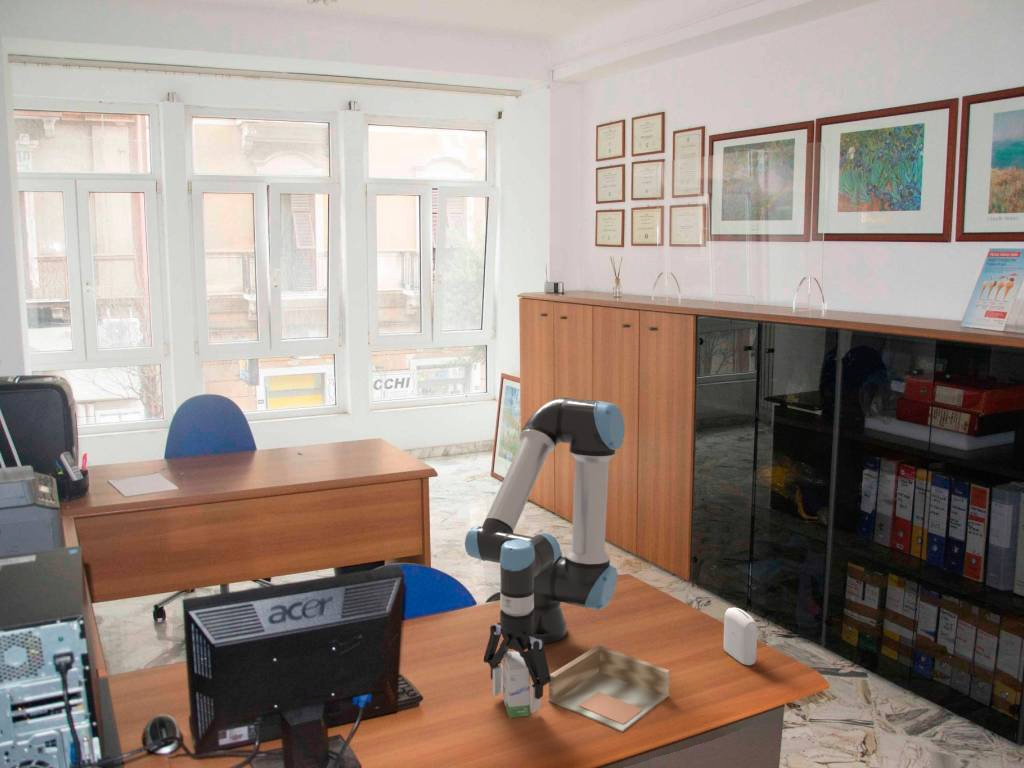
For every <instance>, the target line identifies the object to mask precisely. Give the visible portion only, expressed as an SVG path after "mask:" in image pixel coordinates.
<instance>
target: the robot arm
mask: <svg viewBox="0 0 1024 768" xmlns="http://www.w3.org/2000/svg"><path fill="white" fill-rule="evenodd" d="M620 409H621V408H620V407H618V405H616V404H615V403H612V402H606V401H603V400H595V399H594V400H593V399H592V400H591V399H579V398H570V397H558V398H555V399H551V400H549V401H546V403H544V404H543V405H541V406H540V407H539V408H538V409H536V410H535V412H533V414H532V415H531V416H530V417H529V418H528V419H527V421H526V423H525V424H524V425H523V428H522V430H521V431H520V434H519V438H520V441H521V442H520V443H519V446H518V448H517V450H516V452H515V454H514V457H513V459H512V461H511V463H510V465H509V468H508V469H507V472H506V474H505V477H504V479H503V480H502V483H501V485H500V487H499V489H498V491H497V494H496V496H495V498H494V500H493V502H492V504H491V507H490V509H489V511H488V513H487V515H486V518H485V520H484V521H483V523H482V526H480V525H479V526H478V525H477V526H476V525H474V526H472V527H471V528H470V529H469V530H468V531H467V533H466V535H465V538H464V549H465V552H466V553H467V555H468V556H469V557H471V558H475V559H478V560H481V561H483V562H484V561H485V562H486V561H487V562H492V563H495V564H496V563H498V564H500V566H499V568H500V569H499V570H500V571H499V572H500V573H499V575H500V577H499V578H500V589H499V590H500V593H499V595H500V598H499V599H500V602H499V604H500V605H499V606H500V607H499V608H500V612H499V622H496V623H494V624H493V625H491V626H490V627H489V629H490V635H489V638H488V642H487V646H486V649H485V652H484V656H483V662H484V663H487V664H488V666H489V668H490V679H491V680H492V696H493V697H497V696H498V695H500V694H503V664H502V660H503V657H504V653H506V652H509V650H514V652H515V651H517V652H519V654H520V656H521V657H523V659H524V662H525V664H526V666H527V668H528V671H529V674H530V679H531V681H532V683H530V713H532V714H533V713H536V712H537V711H539V710H541V703H542V702H541V700H542V699H541V698H542V697H543V696H544V686H546V685H547V684H549V682H551V677H550V674H551V673H550V670H549V666H548V665H549V664H548V660H547V657H546V656H547V655H546V652H545V645H546V644H552V643H555V642H558V641H560V640H563V639H564V638H565V637H566V635H567V629H568V628H567V626H568V625H567V621H566V619H565V616H564V612H563V608H562V605H561V603H563V604H569V605H573V606H577V607H582V608H585V609H587V610H588V609H591V610H597V611H599V610H603V609H604V608H606V607H607V606H608V605H609V603H610V602H611V600H612V599H613V596H614V593H615V590H616V587H617V582H618V572H617V571H618V570H617V568H616V567H615V566H614V565H610V563H611V556H610V554H608V552H607V551H606V550H605V548H606V547H605V546H606V527H607V526H606V524H607V505H608V504H607V502H608V484H609V483H608V481H609V466H610V465H609V463H610V460H611V459H612V458H614V457H615V455H616V450H619V449H620V448H621V447H622V445H623V444H624V438H625V431H626V430H625V428H626V427H625V420H624V416H623V414H622V411H621V410H620ZM559 443H564V444H569V453H570V454H571V456H573V458H574V459H575V460H574V461H575V463H574V483H573V486H574V487H573V502H572V503H573V504H572V505H573V507H572V509H573V510H572V525H571V526H572V532H571V548H570V549H569V550H568V551H567V552H566V553H565V555H564V556H562V555H563V552H562V549H561V548H560V547H561V546H560V543H559V542H558V540H557V538H555V536H553V535H552V534H550V533H540V534H536V535H535V536H529V535H525V534H524V535H523V534H520V533H514V532H515V530H516V528H517V524H518V522H519V520H520V519H521V515H522V513H523V511H524V508H525V506H526V505H527V502H528V500H529V497H530V495H531V493H532V491H533V488H534V486H535V483H536V481H537V480H538V477H539V475H540V472H541V470H542V469H543V466H544V463H545V461H546V459H547V457H548V454H549V453H552V452H553V451H555V448H556V446H557V444H559ZM501 636H502V638H503V640H502V641H501V643H500V640H501ZM499 643H500V645H499ZM498 646H499V648H498Z"/></svg>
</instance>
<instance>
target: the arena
mask: <svg viewBox="0 0 1024 768" xmlns="http://www.w3.org/2000/svg"><path fill="white" fill-rule="evenodd" d="M550 677H551V682H549V683H548V702H551V703H552V704H555V705H558V706H559V707H562V708H565V709H566V710H568V711H569V710H570V711H572V712H574V713H577V714H579V715H580V716H583V717H586V718H588V719H590V720H593V721H595V722H598V723H599V724H602V725H605V726H607V727H609V728H612V729H614V730H617V731H620V732H622V733H623V732H624V731H626V730H627V729H628V728H629V727H631V726H632V725H633V724H635V723H636V722H637V721H639V720H640V719H641V718H642V717H643V716H645V715H647V713H649V712H651V710H652V709H654V708H655V707H656V706H658V705H659V704H660V703H661V702H663V701H665V699H666V698H668V697H669V694H670V669H667V668H664V667H661V666H659V665H655V664H653V663H650V662H648V661H644V660H643V659H639V658H637V657H633V656H630V655H629V654H628V655H627V654H625V653H621V652H620V651H617V650H614V649H611V648H608V647H605V646H602V645H600V644H597V645H596V646H593V647H592V648H591V649H589V650H587V651H586V652H584V653H582V654H581V655H579V656H577V657H576V658H575V659H572V660H571V661H570V662H568V663H566V664H565V665H563V666H562V667H559V668H558V669H556V670H555V671H553V672H552V673H550ZM597 692H600V693H603V694H605V695H608V696H610V697H613V698H616V699H618V700H621V701H623V702H626V703H628V704H631V705H633V706H636V707H638V708H641V709H643V710H642V711H641V712H639V713H638V714H637V715H636V716H634V717H633V718H632V719H630V720H629V721H628V722H626V723H625V724H624V725H623V724H620V723H618V722H615V721H613V720H611V719H608V718H606V717H603V716H601V715H599V714H596V713H594V712H591V711H589V710H587V709H584V708H582V707H579V705H580V704H581V703H583V702H584V701H586V700H587V699H589V698H590V697H591V696H593V695H594V694H596V693H597Z"/></svg>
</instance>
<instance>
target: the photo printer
mask: <svg viewBox="0 0 1024 768" xmlns="http://www.w3.org/2000/svg"><path fill="white" fill-rule="evenodd" d="M723 620H724V622H723V623H724V624H723V650H724V652H726V653H727V654H729V655H730V656H731V657H733V658H734V659H735V660H736V661H738V662H739V663H740V664H742V665H745V666H752V665H754V664H755V663H756V662H757V661H756V660H757V645H758V644H757V642H758V624H757V622H756V621H755V620H754V618H753V617H752V616H751V615H750V614H749V613H747V612H746V611H745V610H743V609H741V608H739V607H729V608H727V609H726V611H725V614H724V619H723Z"/></svg>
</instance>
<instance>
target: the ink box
mask: <svg viewBox="0 0 1024 768" xmlns="http://www.w3.org/2000/svg"><path fill="white" fill-rule="evenodd" d="M502 660H503V664H502V666H503V692H502V699H503V702H504V703H503V704H504V706H505V709H506V711H507V712H506V713H507V715H508V717H509V718H510V719H511V718H521V717H529V716H530V713H531V712H530V697H531V682H530V681H531V676H530V674H529V671H528V668H527V666H526V664H525V662H524V659H523V657H521V656H520V654H519V652H517V651H515V650H514V651H507V652H506V653H504V657H503V659H502Z"/></svg>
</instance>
